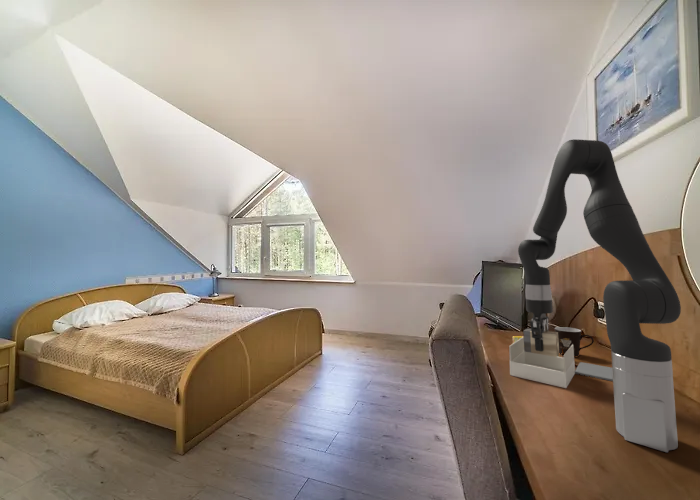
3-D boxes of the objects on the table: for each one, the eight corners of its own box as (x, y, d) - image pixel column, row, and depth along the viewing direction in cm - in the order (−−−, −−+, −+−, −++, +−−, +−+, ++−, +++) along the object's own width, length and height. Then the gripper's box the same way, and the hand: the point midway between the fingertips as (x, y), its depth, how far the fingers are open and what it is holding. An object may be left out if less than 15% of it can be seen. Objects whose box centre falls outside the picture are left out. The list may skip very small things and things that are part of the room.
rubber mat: (628, 384, 87) (628, 382, 88) (574, 373, 97) (574, 371, 97) (629, 372, 97) (629, 370, 97) (580, 363, 106) (580, 362, 106)
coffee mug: (550, 352, 119) (549, 328, 120) (565, 350, 122) (564, 326, 122) (580, 361, 108) (579, 334, 109) (596, 358, 111) (595, 332, 111)
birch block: (556, 356, 92) (555, 334, 93) (524, 351, 98) (523, 330, 99) (559, 353, 95) (557, 332, 96) (528, 348, 102) (527, 328, 102)
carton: (566, 388, 86) (564, 355, 86) (510, 375, 97) (508, 346, 97) (575, 373, 97) (573, 344, 98) (524, 362, 108) (522, 337, 108)
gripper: (546, 300, 90) (550, 356, 89) (556, 296, 100) (559, 347, 99) (519, 299, 96) (522, 351, 95) (531, 295, 106) (534, 343, 105)
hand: (541, 349), depth 97 cm, fingers closed on birch block, 4 cm apart
